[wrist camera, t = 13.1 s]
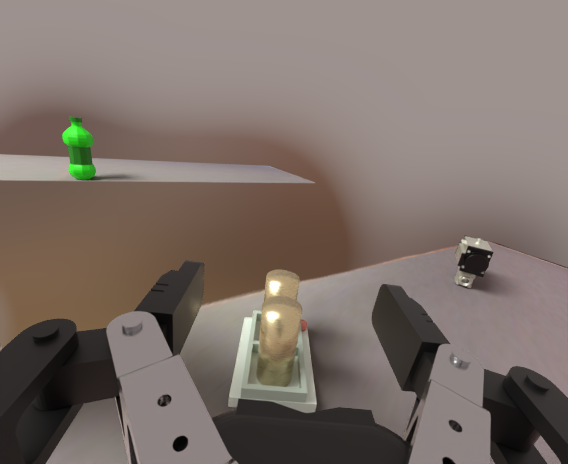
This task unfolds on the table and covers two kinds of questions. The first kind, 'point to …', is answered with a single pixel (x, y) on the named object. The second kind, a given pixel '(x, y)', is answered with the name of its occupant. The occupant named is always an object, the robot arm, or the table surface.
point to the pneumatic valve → (471, 260)
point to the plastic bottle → (79, 150)
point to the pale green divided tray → (291, 396)
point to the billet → (278, 340)
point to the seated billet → (281, 284)
